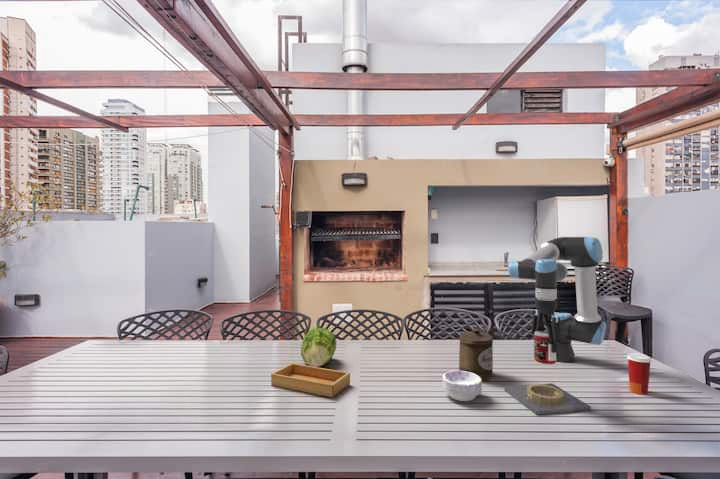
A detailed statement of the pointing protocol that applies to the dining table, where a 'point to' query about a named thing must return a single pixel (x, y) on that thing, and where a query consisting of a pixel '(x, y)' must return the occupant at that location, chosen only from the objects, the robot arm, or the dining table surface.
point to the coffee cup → (638, 372)
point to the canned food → (542, 347)
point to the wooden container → (476, 353)
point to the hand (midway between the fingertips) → (545, 356)
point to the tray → (311, 379)
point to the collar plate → (546, 406)
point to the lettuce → (318, 347)
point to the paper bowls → (462, 385)
